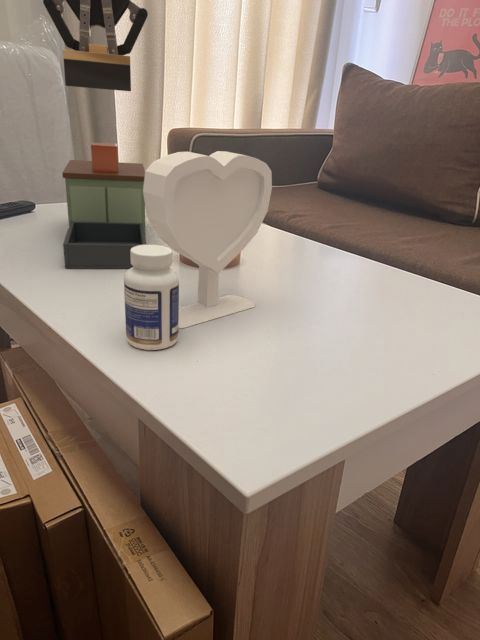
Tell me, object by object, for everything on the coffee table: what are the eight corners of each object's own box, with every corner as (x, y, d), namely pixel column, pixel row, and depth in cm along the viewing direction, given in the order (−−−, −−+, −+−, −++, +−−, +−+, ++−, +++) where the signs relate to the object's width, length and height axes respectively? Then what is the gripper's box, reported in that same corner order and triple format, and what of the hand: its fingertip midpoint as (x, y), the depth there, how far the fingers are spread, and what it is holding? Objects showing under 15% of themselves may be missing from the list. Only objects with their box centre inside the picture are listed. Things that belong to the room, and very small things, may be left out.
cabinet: (68, 242, 85) (62, 172, 80) (74, 220, 97) (69, 159, 93) (147, 243, 88) (146, 176, 83) (143, 222, 101) (142, 163, 96)
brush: (72, 84, 74) (69, 44, 71) (130, 90, 75) (129, 50, 73) (65, 85, 66) (61, 39, 64) (131, 91, 68) (129, 47, 65)
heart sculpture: (167, 332, 57) (168, 158, 49) (141, 317, 60) (137, 151, 52) (266, 303, 67) (279, 155, 60) (239, 291, 70) (248, 149, 63)
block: (92, 171, 83) (90, 144, 81) (93, 167, 87) (91, 142, 85) (118, 172, 84) (117, 146, 82) (118, 169, 88) (117, 143, 86)
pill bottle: (160, 325, 58) (159, 239, 54) (188, 343, 55) (190, 253, 51) (116, 337, 55) (112, 246, 51) (143, 356, 52) (141, 260, 47)
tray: (65, 268, 73) (63, 244, 72) (72, 243, 84) (70, 221, 83) (147, 269, 76) (146, 245, 74) (143, 244, 87) (143, 223, 86)
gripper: (149, -53, 70) (150, 91, 78) (38, -70, 67) (51, 82, 74) (151, -66, 64) (152, 92, 71) (28, -86, 60) (43, 83, 68)
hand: (100, 86), depth 73 cm, fingers closed on brush
